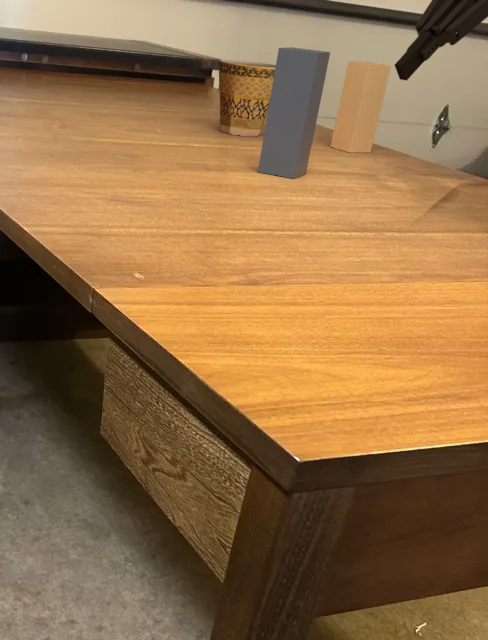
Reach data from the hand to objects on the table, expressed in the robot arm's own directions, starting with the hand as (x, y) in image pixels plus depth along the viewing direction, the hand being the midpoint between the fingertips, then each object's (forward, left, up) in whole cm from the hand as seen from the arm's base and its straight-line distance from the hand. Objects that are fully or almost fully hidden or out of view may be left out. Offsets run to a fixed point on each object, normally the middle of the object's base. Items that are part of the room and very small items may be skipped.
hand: (400, 72), depth 127 cm
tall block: (+7, +2, -11) cm, 13 cm away
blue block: (+28, +24, -11) cm, 38 cm away
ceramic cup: (+21, -10, -11) cm, 26 cm away
